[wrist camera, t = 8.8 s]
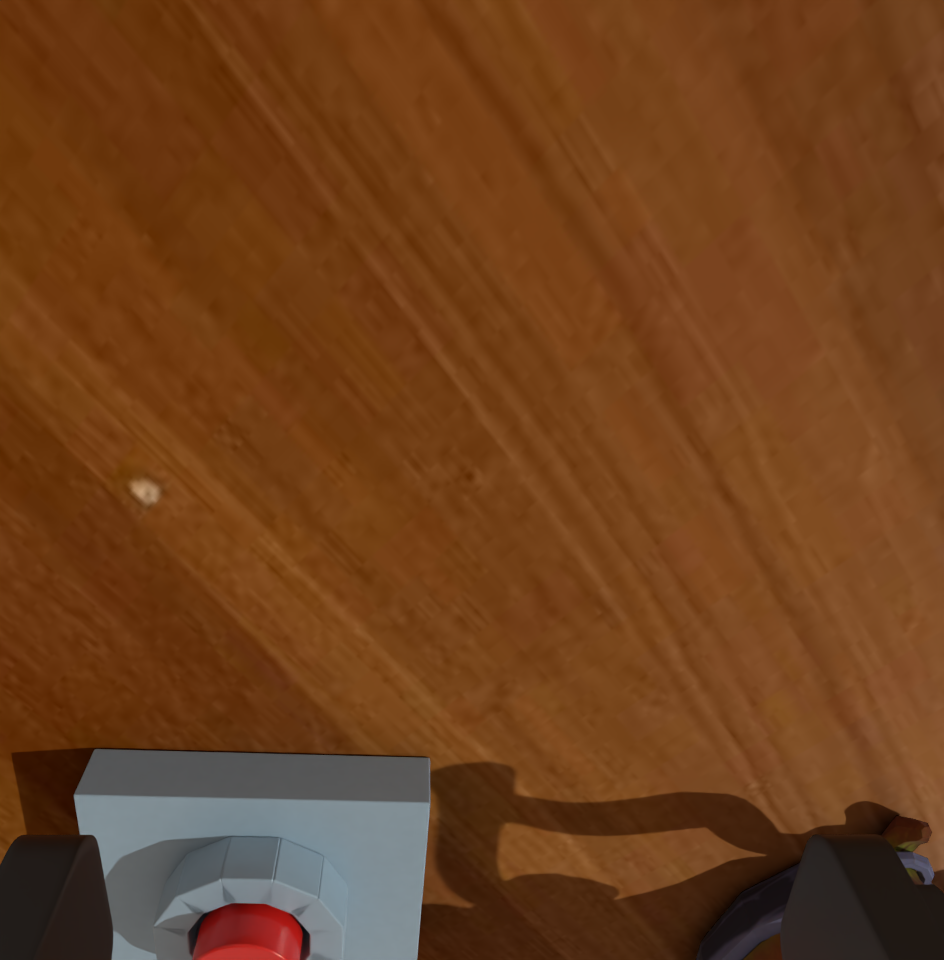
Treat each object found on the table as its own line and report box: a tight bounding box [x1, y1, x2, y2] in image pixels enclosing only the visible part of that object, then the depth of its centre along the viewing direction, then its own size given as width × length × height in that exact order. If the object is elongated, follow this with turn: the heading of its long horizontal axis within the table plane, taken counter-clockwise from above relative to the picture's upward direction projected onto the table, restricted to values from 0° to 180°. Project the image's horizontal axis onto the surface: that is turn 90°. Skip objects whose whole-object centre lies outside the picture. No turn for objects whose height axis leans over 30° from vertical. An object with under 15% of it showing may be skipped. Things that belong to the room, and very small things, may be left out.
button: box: [192, 903, 303, 960], centre depth 31 cm, size 4×4×2 cm
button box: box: [74, 749, 430, 960], centre depth 33 cm, size 12×10×4 cm
